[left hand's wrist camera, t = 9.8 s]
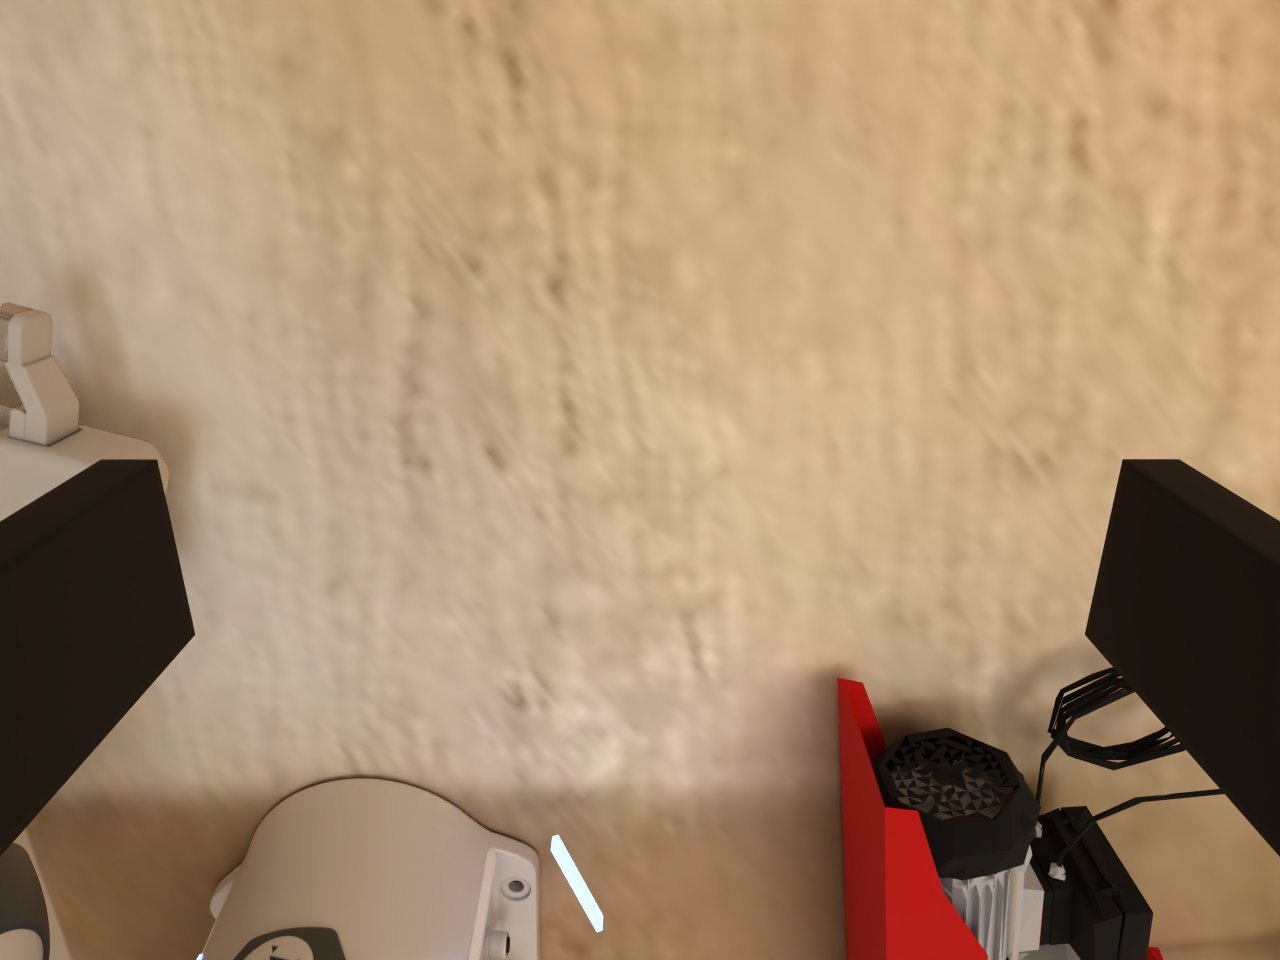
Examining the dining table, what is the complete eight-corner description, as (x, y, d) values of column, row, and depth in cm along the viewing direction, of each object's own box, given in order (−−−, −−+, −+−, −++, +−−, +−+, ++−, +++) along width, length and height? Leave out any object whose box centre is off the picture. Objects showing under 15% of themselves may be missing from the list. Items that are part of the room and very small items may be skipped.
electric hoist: (1655, 719, 34) (884, 797, 36) (1476, 1134, 45) (888, 1184, 46) (1438, 586, 44) (831, 651, 45) (1332, 957, 54) (845, 1002, 55)
